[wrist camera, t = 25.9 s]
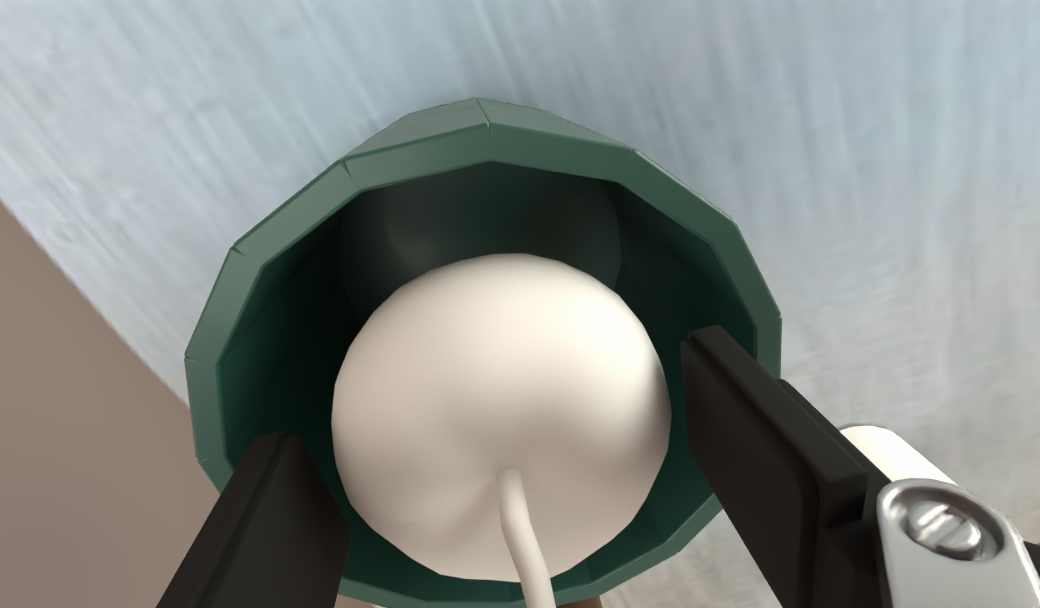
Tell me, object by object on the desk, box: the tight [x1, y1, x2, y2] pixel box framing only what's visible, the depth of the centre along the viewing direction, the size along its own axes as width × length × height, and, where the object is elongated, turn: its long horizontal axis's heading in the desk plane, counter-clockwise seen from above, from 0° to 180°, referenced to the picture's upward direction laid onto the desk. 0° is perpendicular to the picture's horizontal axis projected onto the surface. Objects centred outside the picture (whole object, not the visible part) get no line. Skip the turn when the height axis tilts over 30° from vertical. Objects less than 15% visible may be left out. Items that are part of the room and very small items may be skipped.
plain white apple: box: [331, 253, 672, 608], centre depth 10 cm, size 7×7×8 cm
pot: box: [184, 98, 782, 608], centre depth 15 cm, size 12×12×10 cm
